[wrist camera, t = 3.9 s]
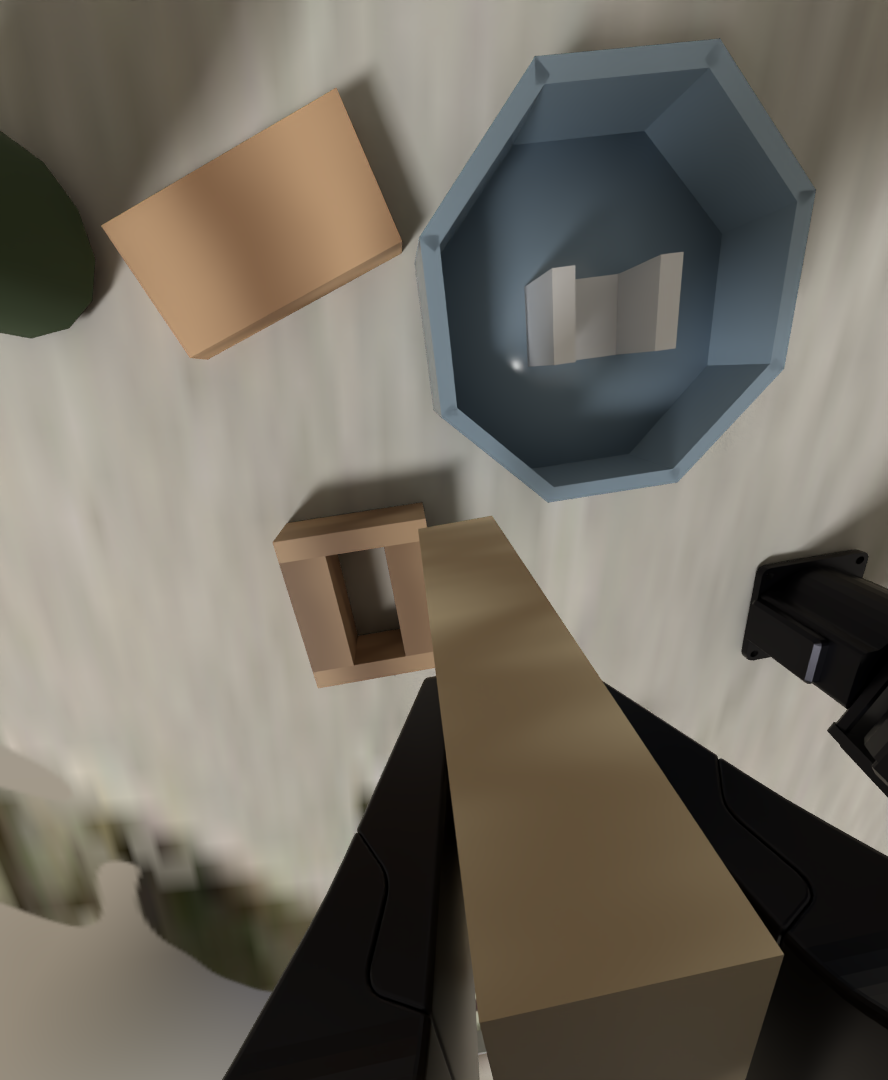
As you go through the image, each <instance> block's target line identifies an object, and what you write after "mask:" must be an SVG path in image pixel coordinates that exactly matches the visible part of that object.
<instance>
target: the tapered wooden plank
mask: <svg viewBox="0 0 888 1080" xmlns="http://www.w3.org/2000/svg"><path fill="white" fill-rule="evenodd" d="M101 226H102V228H103V229H104V231H105V232H106V234H107V235H108V237H109V238H110V240H111V241H112V243H113V244H114V246H115V247H116V249H117V250H118V252H119V253H120V255H121V256H122V258H123V259H124V261H125V262H126V264H127V265H128V266H129V268H130V269H131V271H132V272H133V274H134V275H135V277H136V278H137V280H138V281H139V283H140V284H141V286H142V287H143V289H144V290H145V292H146V293H147V295H148V296H149V298H150V299H151V301H152V302H153V304H154V305H155V307H156V308H157V310H158V311H159V313H160V314H161V316H162V317H163V318H164V320H165V321H166V323H167V324H168V326H169V327H170V329H171V330H172V332H173V333H174V335H175V336H176V338H177V339H178V341H179V342H180V344H181V345H182V347H183V348H184V350H185V351H186V353H187V354H188V356H189V357H190V358H197V359H210V358H211V357H213V356H215V355H217V354H219V353H221V352H222V351H224V350H226V349H228V348H230V347H231V346H233V345H235V344H237V343H239V342H241V341H242V340H244V339H246V338H248V337H250V336H252V335H253V334H255V333H257V332H259V331H261V330H262V329H264V328H266V327H268V326H270V325H272V324H273V323H275V322H277V321H279V320H281V319H283V318H284V317H286V316H288V315H290V314H292V313H293V312H295V311H297V310H299V309H301V308H303V307H304V306H306V305H308V304H310V303H312V302H313V301H315V300H317V299H319V298H321V297H323V296H324V295H326V294H328V293H330V292H332V291H334V290H335V289H337V288H339V287H341V286H343V285H344V284H346V283H348V282H350V281H352V280H354V279H355V278H357V277H359V276H361V275H363V274H365V273H366V272H368V271H370V270H372V269H374V268H375V267H377V266H379V265H381V264H383V263H385V262H386V261H388V260H390V259H392V258H394V257H396V256H397V255H399V254H401V253H402V240H401V237H400V235H399V233H398V230H397V228H396V226H395V223H394V221H393V219H392V216H391V214H390V212H389V209H388V207H387V205H386V202H385V200H384V198H383V195H382V193H381V191H380V188H379V186H378V184H377V181H376V179H375V177H374V174H373V172H372V170H371V167H370V165H369V163H368V160H367V158H366V156H365V153H364V151H363V149H362V146H361V144H360V142H359V139H358V137H357V135H356V132H355V130H354V128H353V125H352V123H351V121H350V118H349V116H348V114H347V111H346V109H345V107H344V104H343V102H342V100H341V97H340V95H339V93H338V90H337V88H335V89H333V90H331V91H330V92H328V93H326V94H325V95H323V96H321V97H319V98H318V99H316V100H314V101H313V102H311V103H309V104H308V105H306V106H304V107H302V108H301V109H299V110H297V111H296V112H294V113H292V114H290V115H289V116H287V117H285V118H284V119H282V120H280V121H279V122H277V123H275V124H273V125H272V126H270V127H268V128H267V129H265V130H263V131H261V132H260V133H258V134H256V135H255V136H253V137H251V138H250V139H248V140H246V141H244V142H243V143H241V144H239V145H238V146H236V147H234V148H232V149H231V150H229V151H227V152H226V153H224V154H222V155H221V156H219V157H217V158H215V159H214V160H212V161H210V162H209V163H207V164H205V165H203V166H202V167H200V168H198V169H197V170H195V171H193V172H192V173H190V174H188V175H186V176H185V177H183V178H181V179H180V180H178V181H176V182H174V183H173V184H171V185H169V186H168V187H166V188H164V189H163V190H161V191H159V192H157V193H156V194H154V195H152V196H151V197H149V198H147V199H145V200H144V201H142V202H140V203H139V204H137V205H135V206H134V207H132V208H130V209H128V210H127V211H125V212H123V213H122V214H120V215H118V216H116V217H115V218H113V219H111V220H110V221H108V222H106V223H105V224H103V225H101Z"/></svg>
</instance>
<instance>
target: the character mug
mask: <svg viewBox="0 0 888 1080" xmlns="http://www.w3.org/2000/svg"><path fill="white" fill-rule="evenodd" d="M94 268H95V257H94V254H93V252H92V249H91V246H90V243H89V240H88V237H87V234H86V231H85V229H84V226H83V223H82V220H81V217H80V214H79V211H78V209H77V208H76V206H75V205H74V204H73V202H72V201H71V200H70V198H69V197H68V196H67V194H66V193H65V191H64V190H63V189H62V187H61V186H60V185H59V183H58V182H57V180H56V179H55V178H54V176H53V175H52V174H51V172H50V171H49V169H48V168H47V167H46V165H45V164H44V163H43V162H42V161H40V160H39V159H38V158H36V157H35V156H34V155H32V154H31V153H30V152H28V151H27V150H26V149H24V148H23V147H21V146H20V145H19V144H17V143H16V142H15V141H13V140H12V139H11V138H9V137H8V136H7V135H5V134H4V133H3V132H1V131H0V333H4V334H10V335H15V336H21V337H26V338H34V337H38V336H42V335H46V334H49V333H53V332H57V331H60V330H64V329H68V328H70V327H71V326H72V324H73V323H74V322H75V321H76V320H77V318H78V317H79V316H80V315H81V314H82V312H83V311H84V310H85V309H86V307H87V306H88V305H89V304H90V303H91V301H92V296H93V282H94Z"/></svg>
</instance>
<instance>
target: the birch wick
mask: <svg viewBox="0 0 888 1080" xmlns="http://www.w3.org/2000/svg"><path fill="white" fill-rule="evenodd" d="M418 533H419V541H420V549H421V557H422V565H423V573H424V581H425V589H426V597H427V605H428V613H429V621H430V629H431V638H432V646H433V654H434V662H435V670H436V678H437V686H438V694H439V702H440V710H441V718H442V726H443V734H444V742H445V751H446V759H447V767H448V775H449V783H450V791H451V799H452V807H453V815H454V823H455V831H456V839H457V847H458V855H459V864H460V872H461V880H462V888H463V896H464V904H465V912H466V920H467V928H468V936H469V944H470V952H471V960H472V968H473V977H474V985H475V993H476V1001H477V1009H478V1017H479V1024H480V1028H481V1032H482V1036H483V1040H484V1044H485V1048H486V1052H487V1056H488V1060H489V1064H490V1068H491V1072H492V1076H493V1080H745V1079H746V1076H747V1073H748V1069H749V1066H750V1063H751V1060H752V1056H753V1053H754V1050H755V1047H756V1044H757V1040H758V1037H759V1034H760V1031H761V1027H762V1024H763V1021H764V1018H765V1015H766V1011H767V1008H768V1005H769V1002H770V999H771V995H772V992H773V989H774V986H775V982H776V979H777V976H778V973H779V970H780V966H781V963H782V960H783V957H784V953H783V952H782V950H781V949H780V947H779V946H778V944H777V943H776V941H775V940H774V938H773V937H772V935H771V934H770V932H769V931H768V929H767V928H766V926H765V925H764V923H763V922H762V920H761V919H760V917H759V916H758V914H757V913H756V911H755V910H754V908H753V907H752V905H751V904H750V902H749V901H748V899H747V898H746V896H745V895H744V893H743V892H742V890H741V889H740V887H739V886H738V884H737V883H736V881H735V880H734V878H733V877H732V875H731V874H730V872H729V871H728V869H727V868H726V866H725V865H724V863H723V862H722V860H721V859H720V857H719V856H718V854H717V853H716V851H715V850H714V848H713V847H712V845H711V844H710V842H709V841H708V839H707V838H706V836H705V835H704V833H703V832H702V830H701V829H700V827H699V826H698V824H697V823H696V821H695V820H694V818H693V817H692V815H691V814H690V812H689V811H688V809H687V808H686V806H685V805H684V803H683V802H682V800H681V799H680V797H679V796H678V794H677V793H676V791H675V790H674V788H673V787H672V785H671V784H670V782H669V781H668V779H667V778H666V776H665V775H664V773H663V772H662V770H661V769H660V767H659V766H658V764H657V763H656V761H655V760H654V758H653V757H652V755H651V754H650V752H649V751H648V749H647V748H646V746H645V745H644V743H643V742H642V740H641V739H640V737H639V736H638V734H637V733H636V731H635V730H634V728H633V727H632V725H631V724H630V722H629V721H628V719H627V718H626V716H625V715H624V713H623V712H622V710H621V709H620V707H619V706H618V704H617V703H616V701H615V700H614V698H613V697H612V695H611V694H610V692H609V691H608V689H607V688H606V686H605V685H604V683H603V682H602V680H601V679H600V677H599V676H598V674H597V673H596V671H595V670H594V668H593V667H592V665H591V664H590V662H589V661H588V659H587V658H586V656H585V655H584V653H583V652H582V650H581V649H580V647H579V646H578V644H577V643H576V641H575V640H574V638H573V637H572V635H571V634H570V632H569V631H568V629H567V628H566V626H565V625H564V623H563V622H562V620H561V619H560V617H559V616H558V614H557V613H556V611H555V610H554V608H553V607H552V605H551V604H550V602H549V601H548V599H547V598H546V596H545V595H544V593H543V592H542V590H541V589H540V587H539V586H538V584H537V583H536V581H535V580H534V578H533V577H532V575H531V574H530V572H529V571H528V569H527V568H526V566H525V565H524V563H523V562H522V560H521V559H520V557H519V556H518V554H517V553H516V551H515V550H514V548H513V547H512V545H511V544H510V542H509V541H508V539H507V538H506V536H505V535H504V533H503V532H502V530H501V529H500V527H499V526H498V524H497V523H496V521H495V520H494V518H493V517H492V516H488V517H482V518H477V519H471V520H465V521H460V522H454V523H449V524H443V525H437V526H432V527H426V528H421V529H418Z"/></svg>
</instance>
